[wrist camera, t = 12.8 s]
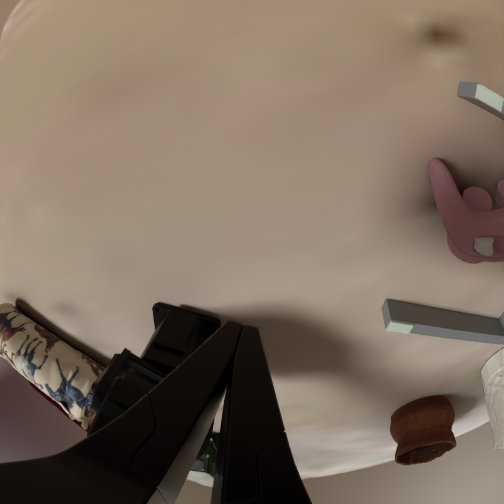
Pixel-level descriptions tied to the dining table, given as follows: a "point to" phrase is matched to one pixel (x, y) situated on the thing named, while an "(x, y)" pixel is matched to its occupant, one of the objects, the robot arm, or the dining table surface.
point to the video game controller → (469, 217)
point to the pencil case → (48, 362)
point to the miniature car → (206, 464)
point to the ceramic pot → (423, 430)
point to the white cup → (495, 396)
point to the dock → (444, 321)
